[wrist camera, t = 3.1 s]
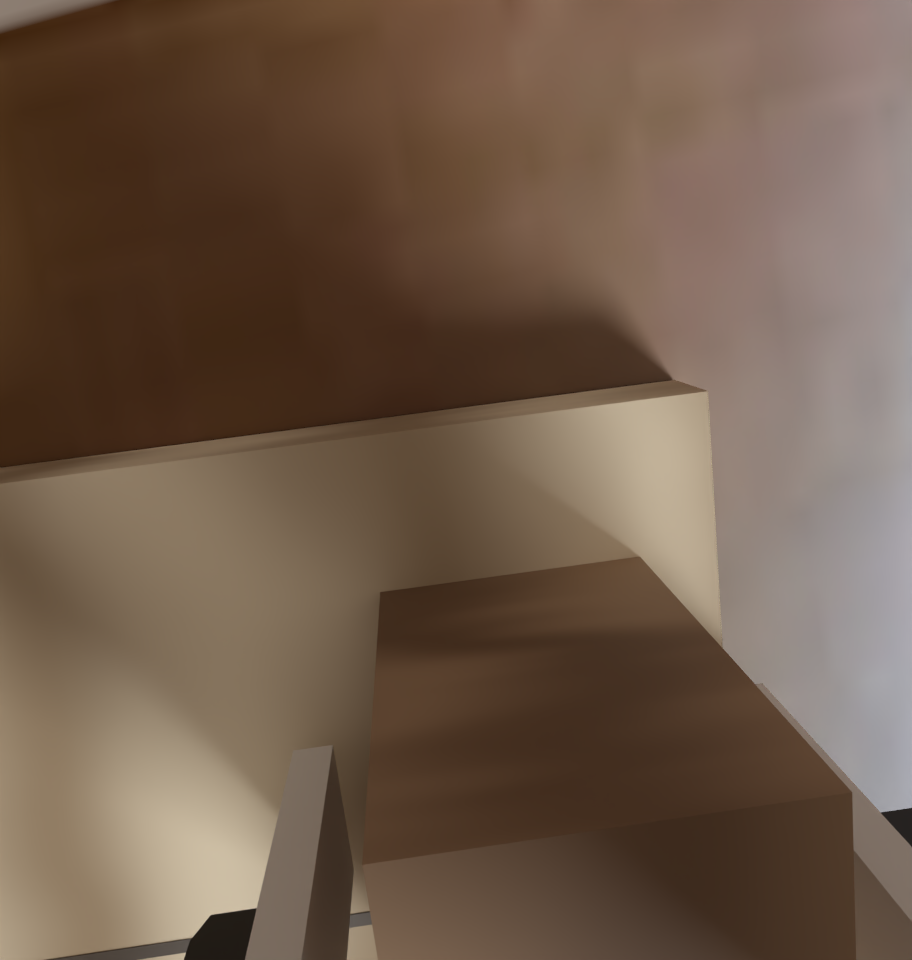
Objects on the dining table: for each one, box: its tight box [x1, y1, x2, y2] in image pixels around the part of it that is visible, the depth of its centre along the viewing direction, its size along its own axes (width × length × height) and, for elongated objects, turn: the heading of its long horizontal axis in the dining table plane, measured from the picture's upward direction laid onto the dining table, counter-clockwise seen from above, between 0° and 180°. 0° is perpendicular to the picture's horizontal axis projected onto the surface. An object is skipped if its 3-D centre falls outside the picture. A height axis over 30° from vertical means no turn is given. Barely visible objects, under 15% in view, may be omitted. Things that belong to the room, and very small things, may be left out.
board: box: [0, 380, 723, 960], centre depth 18 cm, size 28×14×2 cm, turn 97°
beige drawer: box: [362, 557, 856, 960], centre depth 13 cm, size 5×8×9 cm, turn 7°
